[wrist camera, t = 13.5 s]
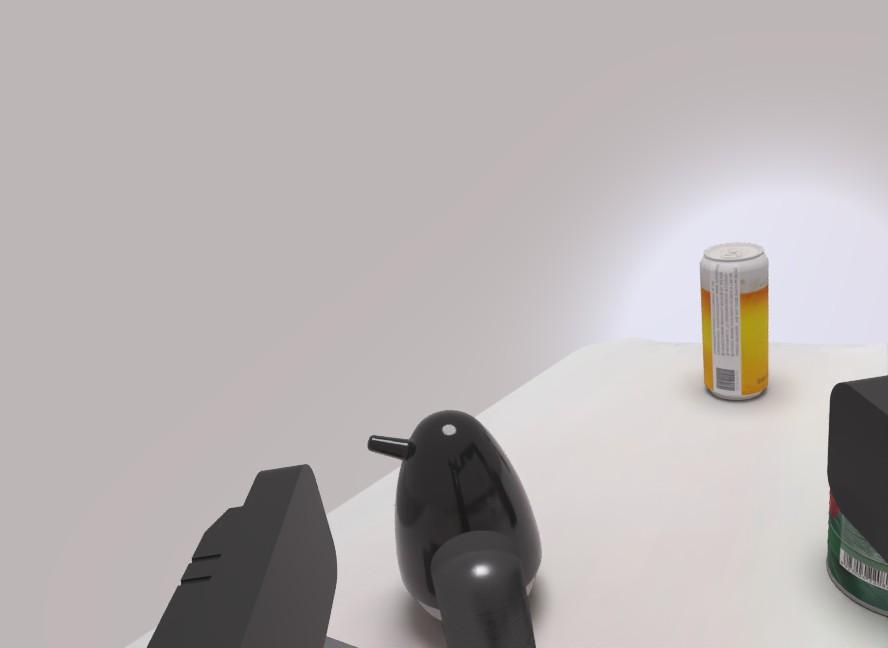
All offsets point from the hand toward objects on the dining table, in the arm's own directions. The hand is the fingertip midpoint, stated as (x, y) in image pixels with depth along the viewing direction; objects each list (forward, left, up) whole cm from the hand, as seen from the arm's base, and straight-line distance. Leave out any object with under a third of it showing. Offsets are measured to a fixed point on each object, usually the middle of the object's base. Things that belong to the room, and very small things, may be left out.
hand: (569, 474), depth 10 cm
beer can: (-58, -6, -30) cm, 66 cm away
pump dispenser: (-23, -19, -30) cm, 43 cm away
